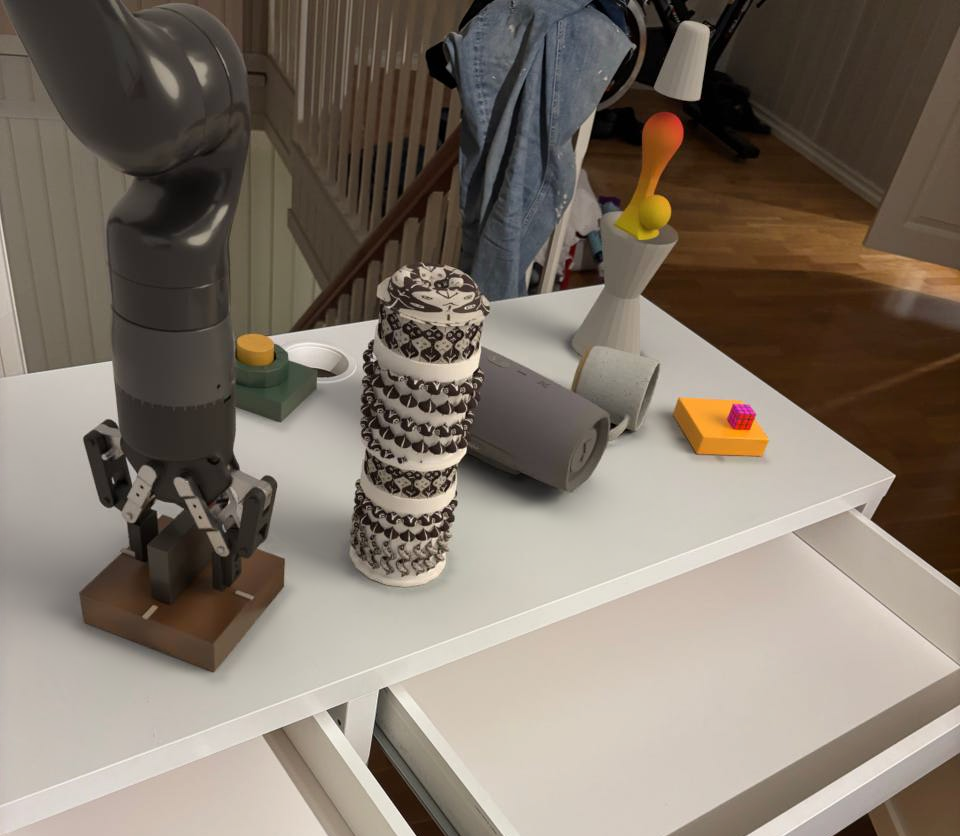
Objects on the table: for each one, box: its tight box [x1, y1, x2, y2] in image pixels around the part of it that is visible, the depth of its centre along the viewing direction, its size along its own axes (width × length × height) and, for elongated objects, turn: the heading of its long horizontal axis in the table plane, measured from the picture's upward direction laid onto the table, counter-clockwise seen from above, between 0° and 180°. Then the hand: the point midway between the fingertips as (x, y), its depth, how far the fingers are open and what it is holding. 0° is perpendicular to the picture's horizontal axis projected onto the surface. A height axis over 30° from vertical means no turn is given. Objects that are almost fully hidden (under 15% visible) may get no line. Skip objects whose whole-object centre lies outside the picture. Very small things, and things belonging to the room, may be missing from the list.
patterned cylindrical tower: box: [349, 261, 491, 588], centre depth 76 cm, size 9×9×25 cm
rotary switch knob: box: [147, 500, 216, 604], centre depth 72 cm, size 7×2×5 cm, turn 161°
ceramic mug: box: [570, 346, 661, 443], centre depth 104 cm, size 11×8×8 cm
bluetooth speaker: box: [466, 345, 612, 494], centre depth 96 cm, size 23×9×10 cm, turn 56°
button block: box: [235, 340, 318, 423], centre depth 99 cm, size 10×8×4 cm
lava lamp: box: [571, 20, 711, 357], centre depth 108 cm, size 9×9×35 cm
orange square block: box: [672, 397, 770, 457], centre depth 108 cm, size 8×8×4 cm
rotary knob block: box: [78, 514, 286, 673], centre depth 75 cm, size 11×11×3 cm
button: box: [236, 333, 275, 366], centre depth 97 cm, size 4×4×2 cm
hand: (186, 569), depth 74 cm, fingers open, 6 cm apart
